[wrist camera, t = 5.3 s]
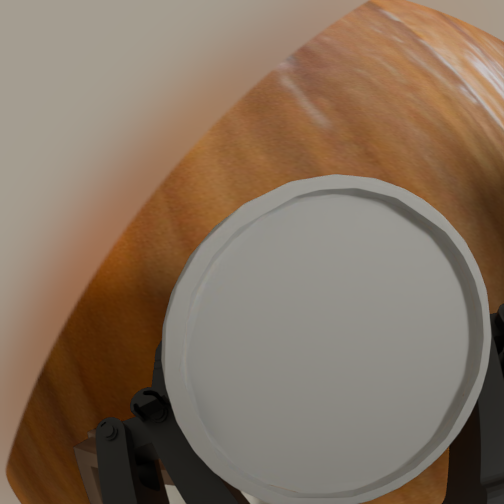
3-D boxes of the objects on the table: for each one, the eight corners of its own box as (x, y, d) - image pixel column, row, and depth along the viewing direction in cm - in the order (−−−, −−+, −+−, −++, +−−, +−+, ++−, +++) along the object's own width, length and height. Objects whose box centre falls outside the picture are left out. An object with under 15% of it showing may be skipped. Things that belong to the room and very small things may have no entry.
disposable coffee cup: (233, 248, 18) (192, 136, 7) (373, 270, 18) (497, 203, 6) (208, 391, 16) (130, 488, 5) (351, 408, 16) (453, 496, 4)
